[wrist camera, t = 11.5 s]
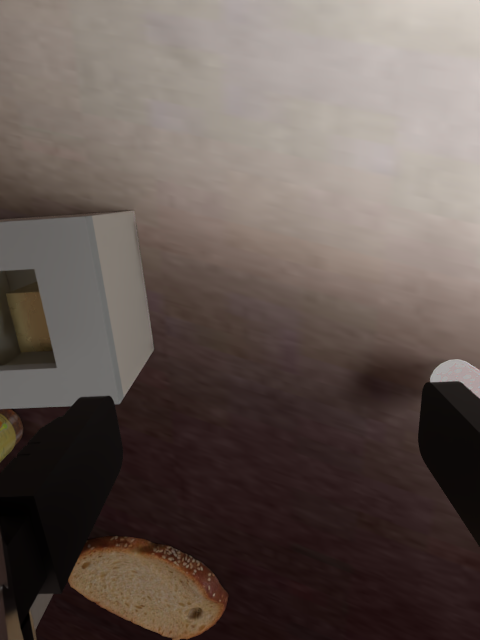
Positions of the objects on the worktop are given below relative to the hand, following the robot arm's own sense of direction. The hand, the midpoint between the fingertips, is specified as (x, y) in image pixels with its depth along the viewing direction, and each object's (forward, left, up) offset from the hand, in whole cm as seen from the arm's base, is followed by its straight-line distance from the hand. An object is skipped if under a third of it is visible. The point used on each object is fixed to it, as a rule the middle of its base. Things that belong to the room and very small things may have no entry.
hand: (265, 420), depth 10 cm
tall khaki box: (+3, -18, -27) cm, 33 cm away
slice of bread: (+42, -16, -29) cm, 53 cm away
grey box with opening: (+2, -18, -28) cm, 33 cm away
